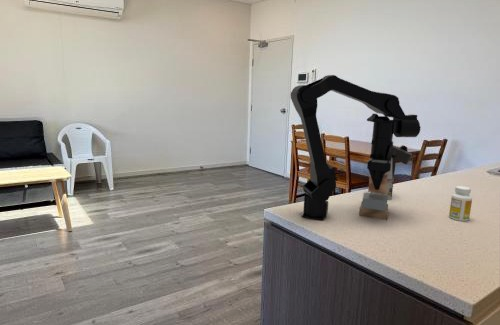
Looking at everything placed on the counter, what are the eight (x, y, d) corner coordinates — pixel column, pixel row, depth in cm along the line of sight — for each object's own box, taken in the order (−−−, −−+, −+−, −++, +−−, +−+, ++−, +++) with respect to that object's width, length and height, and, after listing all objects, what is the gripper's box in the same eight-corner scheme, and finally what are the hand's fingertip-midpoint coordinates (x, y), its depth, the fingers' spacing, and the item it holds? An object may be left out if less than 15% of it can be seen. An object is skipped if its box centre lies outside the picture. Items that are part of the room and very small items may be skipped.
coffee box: (392, 200, 125) (397, 155, 122) (373, 198, 127) (377, 154, 124) (387, 193, 134) (392, 151, 131) (370, 191, 135) (373, 150, 132)
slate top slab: (361, 207, 108) (362, 198, 108) (363, 201, 115) (364, 192, 114) (386, 211, 106) (387, 201, 105) (386, 204, 112) (387, 195, 112)
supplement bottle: (466, 216, 110) (471, 186, 108) (471, 222, 105) (475, 190, 103) (447, 214, 112) (451, 184, 110) (450, 219, 107) (455, 188, 105)
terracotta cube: (368, 191, 108) (369, 175, 107) (369, 187, 112) (370, 172, 111) (385, 193, 106) (387, 177, 105) (386, 189, 111) (387, 174, 110)
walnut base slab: (358, 217, 109) (359, 208, 108) (361, 209, 116) (361, 200, 115) (386, 221, 106) (387, 212, 105) (387, 213, 113) (388, 204, 112)
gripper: (413, 143, 95) (406, 199, 98) (410, 135, 112) (404, 183, 115) (369, 140, 99) (364, 194, 102) (373, 133, 116) (368, 179, 119)
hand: (377, 187), depth 109 cm, fingers closed on terracotta cube, 5 cm apart
